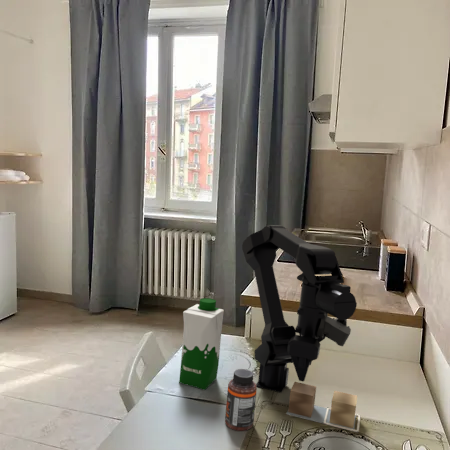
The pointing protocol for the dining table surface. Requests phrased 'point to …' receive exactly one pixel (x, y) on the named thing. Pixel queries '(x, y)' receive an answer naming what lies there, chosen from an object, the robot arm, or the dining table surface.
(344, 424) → the oak block
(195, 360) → the milk carton
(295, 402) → the walnut block
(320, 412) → the mat
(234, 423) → the supplement bottle
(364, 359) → the dining table surface
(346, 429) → the outline
